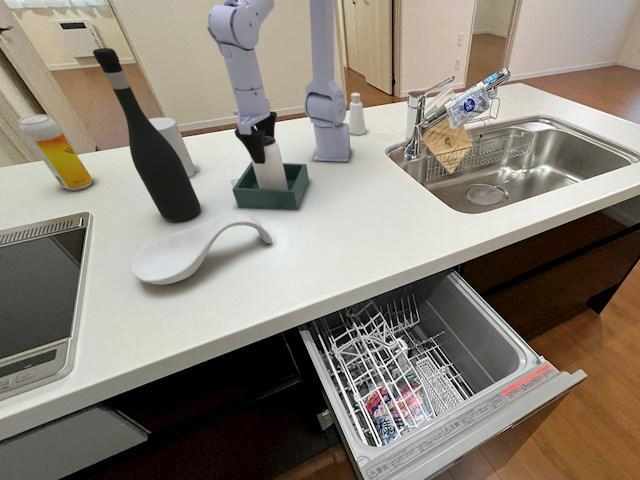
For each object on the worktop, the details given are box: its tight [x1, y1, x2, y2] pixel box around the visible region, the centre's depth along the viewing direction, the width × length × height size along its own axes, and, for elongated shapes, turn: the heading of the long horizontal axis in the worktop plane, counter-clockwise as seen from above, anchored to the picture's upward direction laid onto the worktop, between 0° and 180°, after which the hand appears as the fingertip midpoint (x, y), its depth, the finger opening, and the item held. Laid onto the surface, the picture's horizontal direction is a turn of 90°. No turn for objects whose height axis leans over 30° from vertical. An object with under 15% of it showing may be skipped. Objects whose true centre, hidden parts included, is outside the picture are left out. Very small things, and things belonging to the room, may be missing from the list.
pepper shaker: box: [348, 92, 367, 136], centre depth 107 cm, size 5×5×11 cm
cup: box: [147, 116, 197, 179], centre depth 84 cm, size 8×8×12 cm
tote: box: [232, 161, 310, 211], centre depth 82 cm, size 14×14×4 cm
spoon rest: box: [130, 213, 273, 286], centre depth 64 cm, size 24×12×7 cm, turn 129°
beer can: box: [17, 113, 93, 192], centre depth 77 cm, size 6×6×15 cm
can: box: [249, 136, 288, 190], centre depth 79 cm, size 6×6×12 cm
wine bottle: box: [92, 47, 201, 222], centre depth 66 cm, size 8×8×30 cm
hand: (264, 155), depth 77 cm, fingers open, 7 cm apart
